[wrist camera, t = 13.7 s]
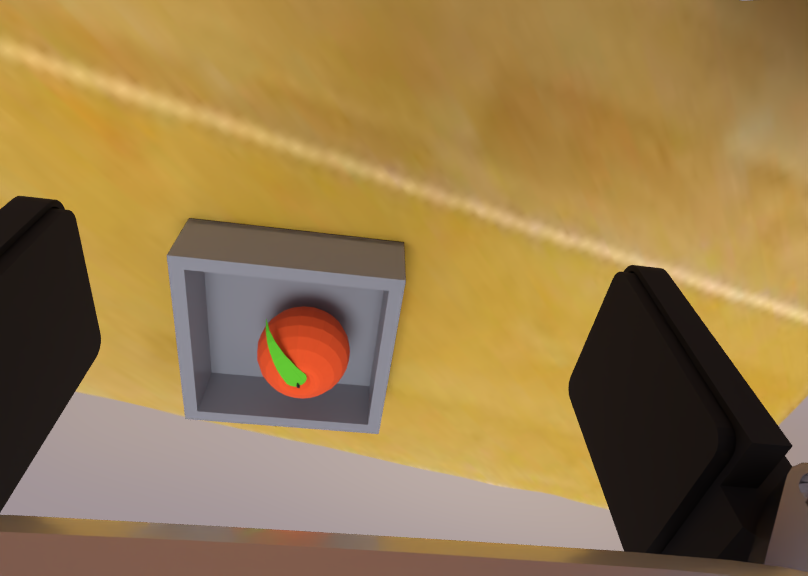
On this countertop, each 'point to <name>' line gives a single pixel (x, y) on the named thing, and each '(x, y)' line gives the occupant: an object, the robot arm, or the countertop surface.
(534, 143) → the countertop surface
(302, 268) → the bin
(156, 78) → the countertop surface
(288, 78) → the countertop surface
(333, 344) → the clementine
